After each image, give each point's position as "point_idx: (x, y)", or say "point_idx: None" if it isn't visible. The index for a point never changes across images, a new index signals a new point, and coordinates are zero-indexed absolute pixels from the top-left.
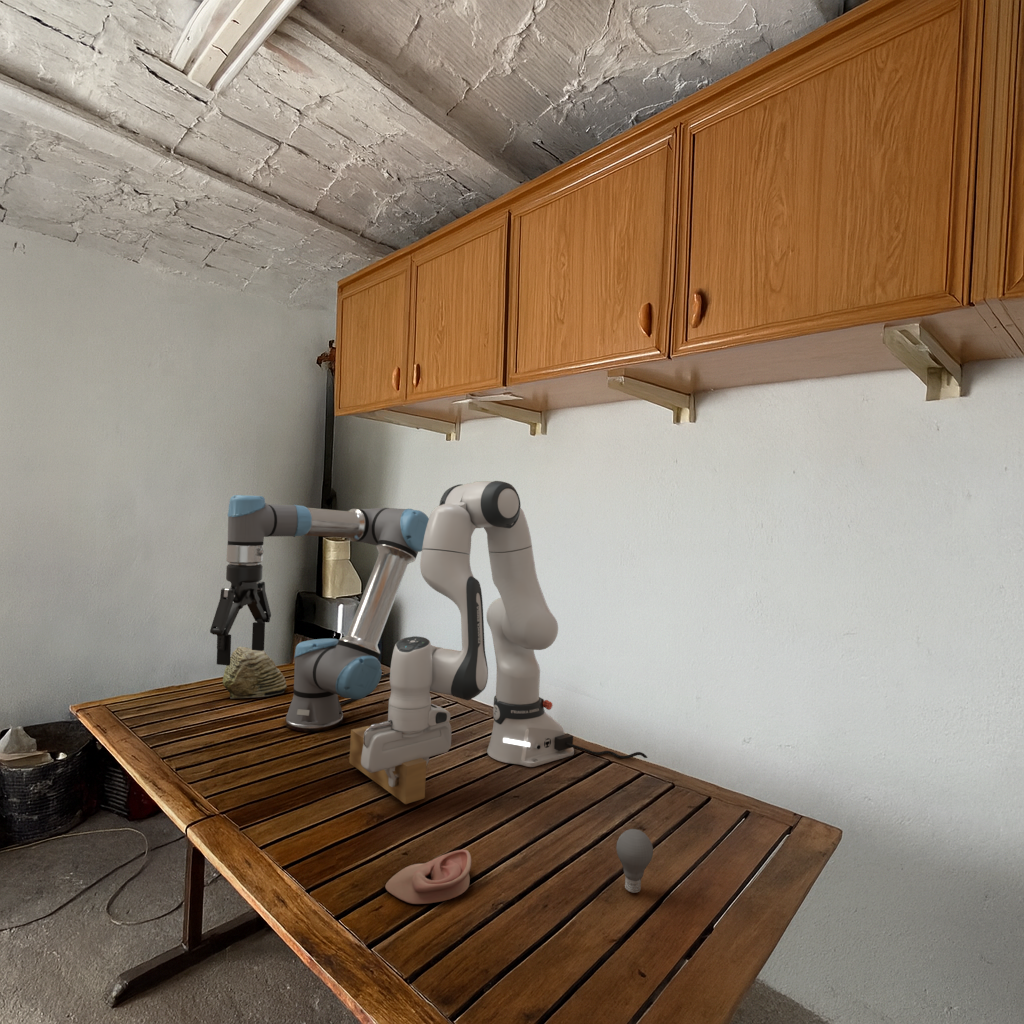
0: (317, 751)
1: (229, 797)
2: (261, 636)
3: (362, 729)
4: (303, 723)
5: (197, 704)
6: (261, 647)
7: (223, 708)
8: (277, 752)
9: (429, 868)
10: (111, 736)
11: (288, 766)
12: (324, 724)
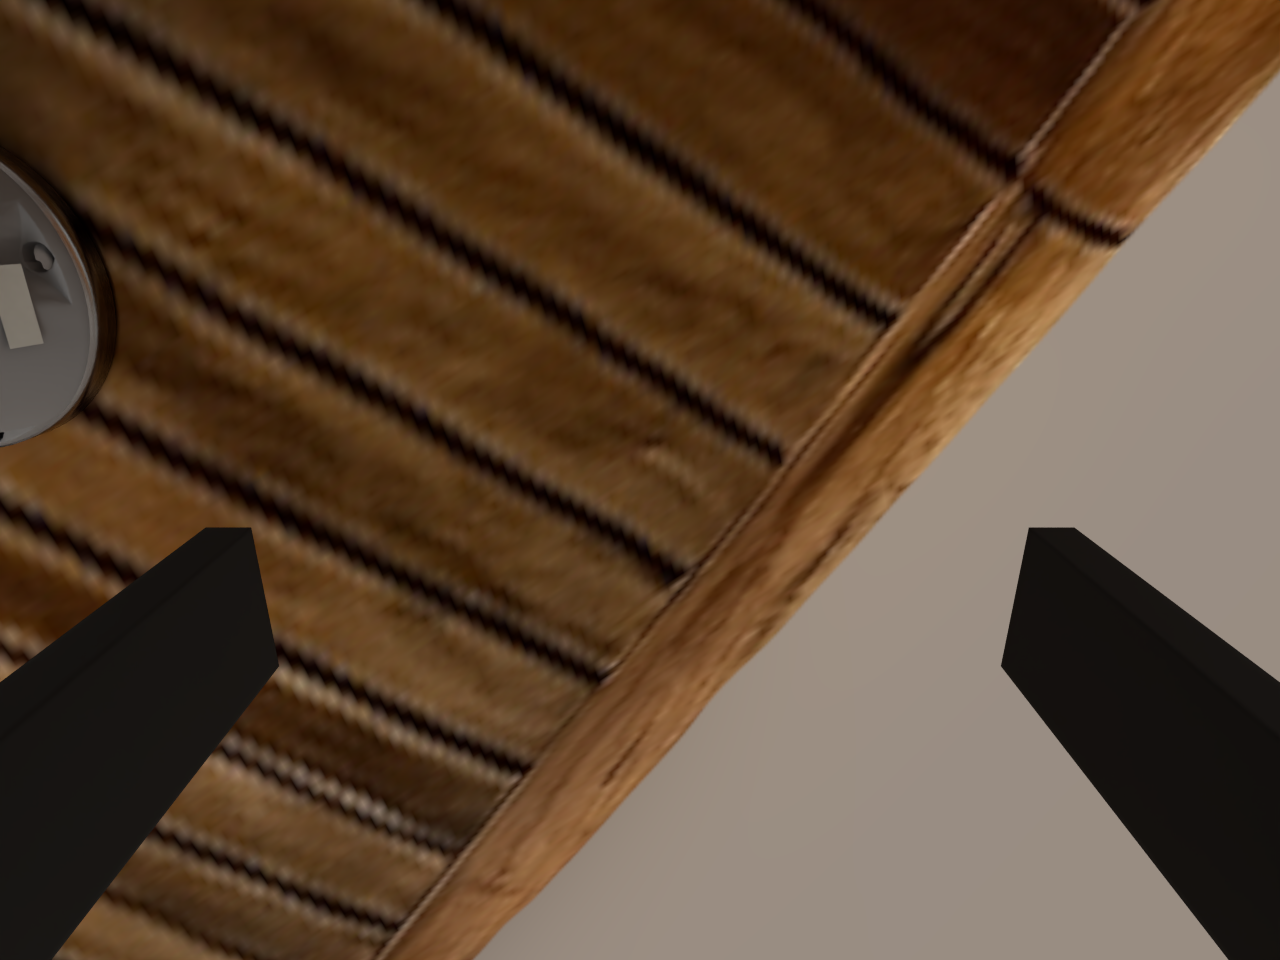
0: (296, 67)
1: (876, 224)
2: (120, 667)
3: None
4: (74, 285)
5: None
6: (229, 563)
7: None
8: (388, 275)
9: None
10: (484, 932)
11: (518, 129)
12: (4, 169)
